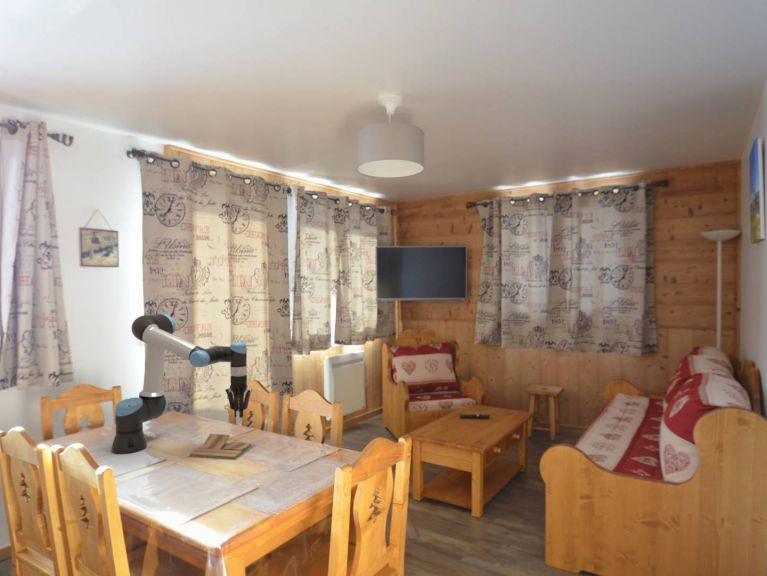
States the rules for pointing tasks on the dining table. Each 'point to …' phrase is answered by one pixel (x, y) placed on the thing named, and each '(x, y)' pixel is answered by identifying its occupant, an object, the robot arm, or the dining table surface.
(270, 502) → the dining table surface
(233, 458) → the underlay
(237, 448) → the plank
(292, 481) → the dining table surface
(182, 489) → the dining table surface
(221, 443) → the plank
